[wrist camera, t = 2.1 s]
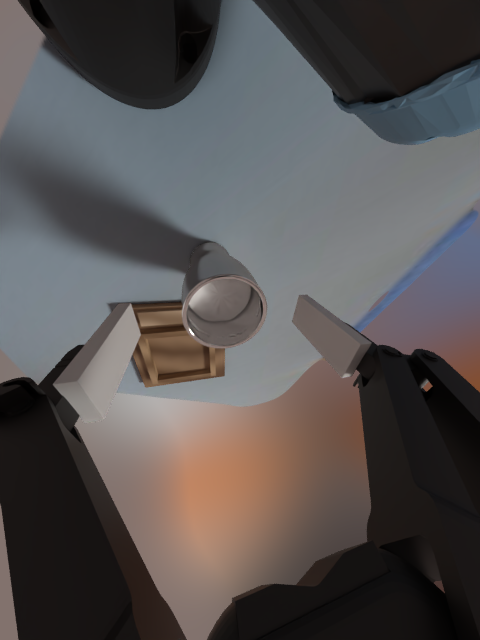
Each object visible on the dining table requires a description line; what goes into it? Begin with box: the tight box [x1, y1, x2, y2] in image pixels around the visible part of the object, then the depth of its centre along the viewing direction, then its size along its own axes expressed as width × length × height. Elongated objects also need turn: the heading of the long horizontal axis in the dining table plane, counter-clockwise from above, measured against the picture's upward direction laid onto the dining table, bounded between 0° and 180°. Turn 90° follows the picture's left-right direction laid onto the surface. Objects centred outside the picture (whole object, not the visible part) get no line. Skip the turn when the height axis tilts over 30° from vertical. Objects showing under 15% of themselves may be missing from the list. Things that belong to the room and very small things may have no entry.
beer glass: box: [182, 242, 267, 349], centre depth 19 cm, size 7×7×15 cm
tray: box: [132, 302, 225, 387], centre depth 31 cm, size 18×16×2 cm
